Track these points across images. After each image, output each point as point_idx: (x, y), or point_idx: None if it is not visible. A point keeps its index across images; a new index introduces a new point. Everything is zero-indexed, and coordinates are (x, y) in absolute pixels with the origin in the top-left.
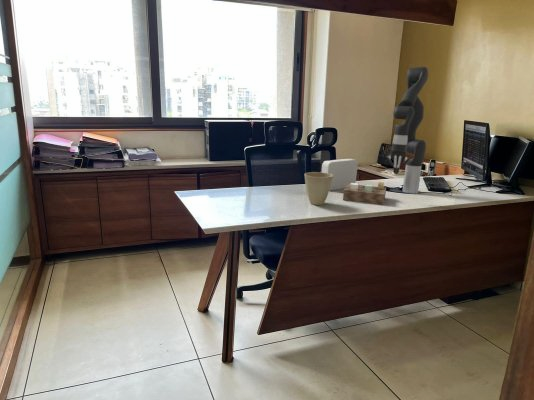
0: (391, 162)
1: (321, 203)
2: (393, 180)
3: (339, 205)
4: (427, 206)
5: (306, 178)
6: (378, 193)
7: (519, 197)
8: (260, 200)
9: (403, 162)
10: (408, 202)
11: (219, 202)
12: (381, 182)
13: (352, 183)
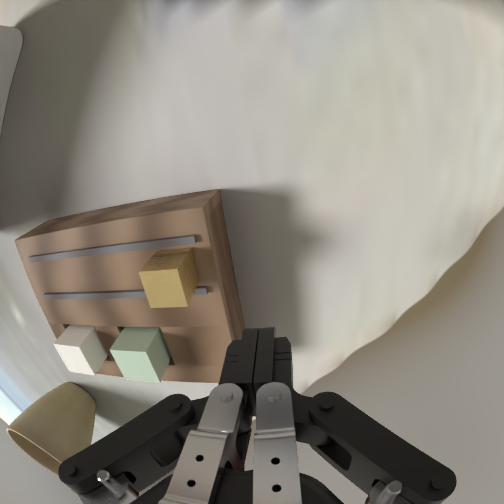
0: (175, 466)
1: (95, 410)
2: None
3: (127, 398)
4: (447, 258)
5: (43, 457)
6: (210, 379)
7: None
8: (16, 396)
9: (351, 454)
10: (364, 227)
11: (11, 415)
12: (161, 278)
13: (63, 353)
